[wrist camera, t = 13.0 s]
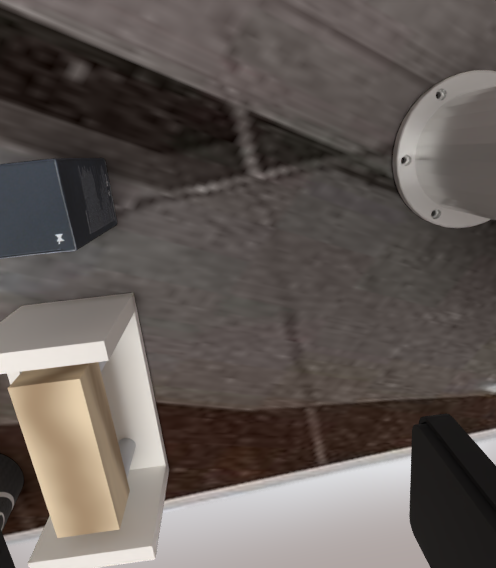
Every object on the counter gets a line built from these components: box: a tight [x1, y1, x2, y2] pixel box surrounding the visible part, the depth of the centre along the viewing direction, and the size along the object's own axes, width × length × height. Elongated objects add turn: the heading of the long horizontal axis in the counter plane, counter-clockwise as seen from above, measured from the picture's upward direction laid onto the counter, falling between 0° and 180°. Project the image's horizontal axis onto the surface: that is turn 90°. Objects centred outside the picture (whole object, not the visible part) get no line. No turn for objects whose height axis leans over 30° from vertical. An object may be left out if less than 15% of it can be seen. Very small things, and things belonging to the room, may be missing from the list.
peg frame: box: [0, 292, 169, 568], centre depth 35 cm, size 10×20×10 cm, turn 6°
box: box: [0, 158, 117, 259], centre depth 29 cm, size 8×6×11 cm
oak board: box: [8, 362, 130, 538], centre depth 32 cm, size 5×14×4 cm, turn 6°
